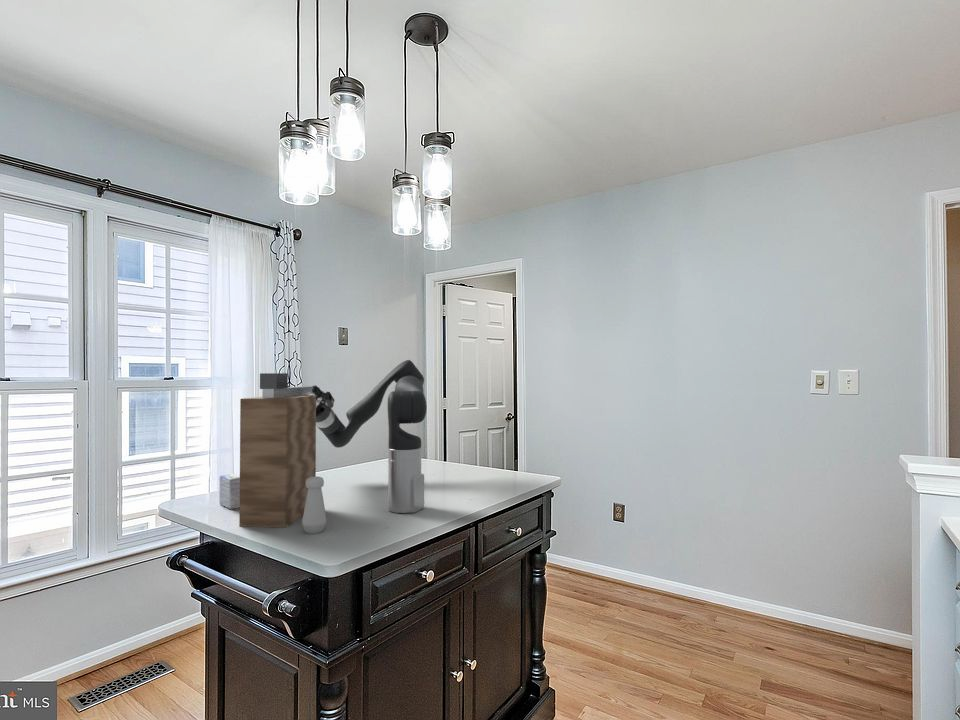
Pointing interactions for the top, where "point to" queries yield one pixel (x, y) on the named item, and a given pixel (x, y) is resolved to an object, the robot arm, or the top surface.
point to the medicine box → (230, 491)
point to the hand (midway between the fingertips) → (299, 388)
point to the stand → (276, 458)
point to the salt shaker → (314, 507)
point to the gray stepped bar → (280, 386)
